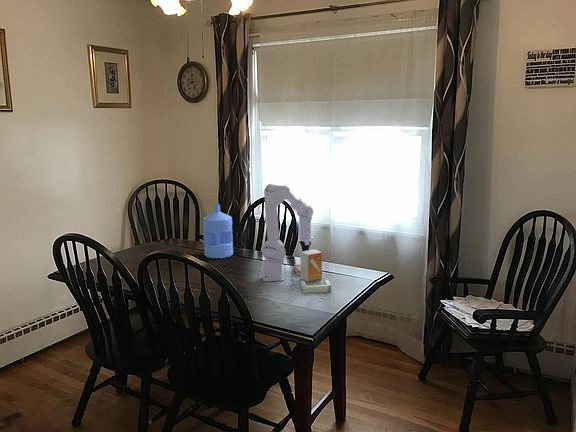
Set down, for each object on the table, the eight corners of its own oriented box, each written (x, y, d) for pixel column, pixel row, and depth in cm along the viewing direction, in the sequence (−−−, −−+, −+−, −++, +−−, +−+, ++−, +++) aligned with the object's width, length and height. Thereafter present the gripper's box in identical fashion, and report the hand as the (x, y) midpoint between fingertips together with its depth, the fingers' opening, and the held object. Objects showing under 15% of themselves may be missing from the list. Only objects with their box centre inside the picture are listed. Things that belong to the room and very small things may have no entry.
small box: (308, 282, 224) (308, 254, 221) (300, 278, 229) (300, 251, 226) (322, 278, 228) (322, 252, 226) (314, 275, 233) (314, 248, 231)
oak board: (297, 276, 233) (297, 270, 232) (294, 270, 243) (294, 264, 242) (322, 275, 234) (322, 269, 234) (318, 269, 244) (318, 263, 243)
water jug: (205, 251, 275) (202, 202, 269) (233, 250, 277) (231, 201, 271) (203, 259, 260) (201, 207, 254) (233, 258, 262) (231, 206, 256)
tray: (303, 292, 211) (303, 287, 210) (301, 286, 219) (301, 280, 218) (331, 291, 212) (331, 285, 212) (327, 285, 220) (327, 279, 219)
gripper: (315, 232, 238) (315, 259, 240) (310, 225, 252) (310, 250, 254) (300, 232, 237) (301, 259, 240) (297, 226, 251) (297, 251, 254)
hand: (305, 255), depth 247 cm, fingers closed
